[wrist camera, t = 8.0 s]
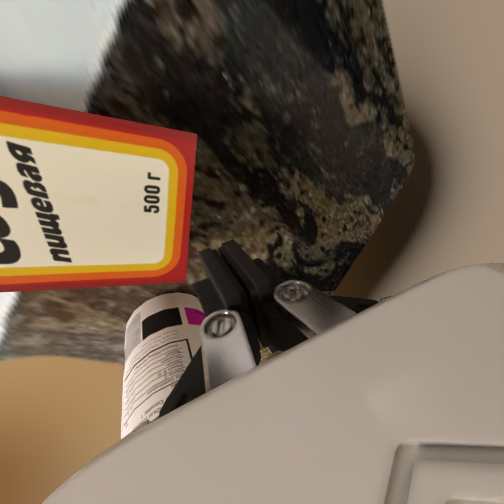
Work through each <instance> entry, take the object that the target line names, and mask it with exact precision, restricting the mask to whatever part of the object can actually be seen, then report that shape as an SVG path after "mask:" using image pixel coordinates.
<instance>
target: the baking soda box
mask: <svg viewBox="0 0 504 504" xmlns="http://www.w3.org/2000/svg"><path fill="white" fill-rule="evenodd" d="M196 144H197V134H194V133H189V132H184V131H178V130H173V129H168V128H163V127H158V126H153V125H147V124H142V123H137V122H132V121H127V120H122V119H116V118H111V117H106V116H101V115H96V114H91V113H85V112H80V111H75V110H70V109H65V108H60V107H54V106H49V105H44V104H39V103H34V102H29V101H23V100H18V99H13V98H8V97H3V96H0V292H15V291H34V290H53V289H72V288H90V287H109V286H128V285H146V284H165V283H184V282H186V272H187V259H188V246H189V233H190V220H191V208H192V195H193V182H194V169H195V156H196Z"/></svg>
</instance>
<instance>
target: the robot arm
mask: <svg viewBox="0 0 504 504" xmlns="http://www.w3.org/2000/svg"><path fill="white" fill-rule="evenodd" d="M219 253H220V255H219V254H218V252H217V251H216V249H214V250H211V249H210V248H208V249H206V250H203V251H200V252H199V256H200V259H201V261H202V264H203V267H204V270H205V273H206V276H207V279H204V280H202V281H199V282H197V283H194V284H193V286H194V288H195V291H196V293H197V296H198V298H199V301H200V304H201V306H202V309H203V311H204V314H205V316H206V318H205V319H204V320H203V322H202V324H201V326H200V339H201V346H200V347H199V349H198V351H197V352H196V354H195V355H194V357H193V358H192V360H191V362H190V363H189V365H188V366H187V368H186V369H185V371H184V373H183V374H182V376H181V377H180V379H179V380H178V382H177V384H176V385H175V387H174V388H173V390H172V391H171V393H170V394H169V396H168V398H167V399H166V401H165V402H164V404H163V406H162V408H161V410H160V412H159V416H158V417H156V418H155V419H154V420H153V421H151V422H150V421H149V419H148V420H146V421H145V422H144V423H142V424H141V425H140V426H138V427H137V428H136V429H134V430H133V431H132V432H130V433H129V434H128V435H126V436H125V437H124V438H123V439H121V440H120V441H119V442H117V443H116V444H114V445H113V446H111V447H110V448H108V449H107V450H105V451H104V452H102V453H101V454H99V455H98V456H96V457H95V458H93V459H92V460H91V461H90V462H89V463H87V464H86V465H85V466H83V467H82V468H81V469H79V470H78V471H77V472H76V473H74V474H73V475H72V476H70V478H68V479H67V480H66V481H65V482H64V483H63V484H62V485H61V486H60V487H59V488H58V489H56V490H55V491H54V492H53V493H52V494H51V495H50V496H49V497H48V498H46V500H44V501H43V502H42V504H504V264H503V263H486V264H477V265H470V266H464V267H460V268H456V269H452V270H449V271H446V272H443V273H441V274H438V275H435V276H433V277H431V278H429V279H427V280H424V281H422V282H420V283H418V284H416V285H413V286H411V287H409V288H407V289H405V290H403V291H402V292H399V293H397V294H395V295H393V296H389V297H386V298H382V299H380V302H378V301H375V300H369V299H361V298H351V297H340V296H330V295H327V294H325V293H323V292H322V291H320V290H319V289H317V288H315V287H314V286H312V285H311V284H309V283H307V282H305V281H303V280H298V279H293V280H287V281H284V282H283V281H282V280H281V279H280V278H279V277H278V276H277V275H276V274H275V273H274V272H273V271H272V270H271V269H270V268H269V267H268V266H267V265H266V264H265V263H264V262H263V261H262V260H261V259H260V258H257V259H254V260H252V259H251V258H250V257H249V256H248V255H247V254H246V253H245V252H244V251H243V250H242V249H241V248H240V247H239V245H238V244H237V243H236V242H235V241H234V240H230V241H227V242H225V243H222V247H220V248H219ZM258 339H259V341H260V343H261V344H262V346H263V347H264V348H265V347H267V346H268V347H269V349H270V350H271V352H272V353H274V352H276V351H278V350H279V351H285V352H283V353H281V354H279V355H277V356H275V357H273V358H271V359H269V360H267V361H265V362H264V363H262V364H260V365H259V362H260V360H261V354H260V350H261V349H260V345H259V341H258Z"/></svg>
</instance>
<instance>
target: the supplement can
mask: <svg viewBox="0 0 504 504" xmlns="http://www.w3.org/2000/svg"><path fill="white" fill-rule="evenodd" d="M205 318H206V316H205V314H204V311H203V309H202V306H201V304H200V301H199V299H198V298H196V297H195V296H193V295H190V294H184V293H178V292H177V293H169V294H162V295H159V296H157V297H155V298H152V299H150V300H148V301H146V302H145V303H143V304H142V305H141V306H140V307H139V308H137V309H136V310H135V311H134V312H133V314H132V316H131V317H130V319H129V321H128V322H127V326H126V334H125V354H124V377H123V401H122V425H121V439H123V438H124V437H125V436H126V435H128V434H129V433H130V432H132V431H133V430H134V429H136V428H137V427H138V426H140V425H141V424H142V423H144V422H145V421H146V420H148V419H149V421H150V422H151V421H153V420H154V419H155V418H156V417H158V416H159V412H160V410H161V408H162V406H163V404H164V402H165V401H166V399H167V398H168V396H169V394H170V393H171V391H172V390H173V388H174V387H175V385H176V384H177V382H178V380H179V379H180V377H181V376H182V374H183V373H184V371H185V369H186V368H187V366H188V365H189V363H190V362H191V360H192V358H193V357H194V355H195V354H196V352H197V351H198V349H199V347H200V346H201V339H200V326H201V324H202V322H203V320H204V319H205Z"/></svg>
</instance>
